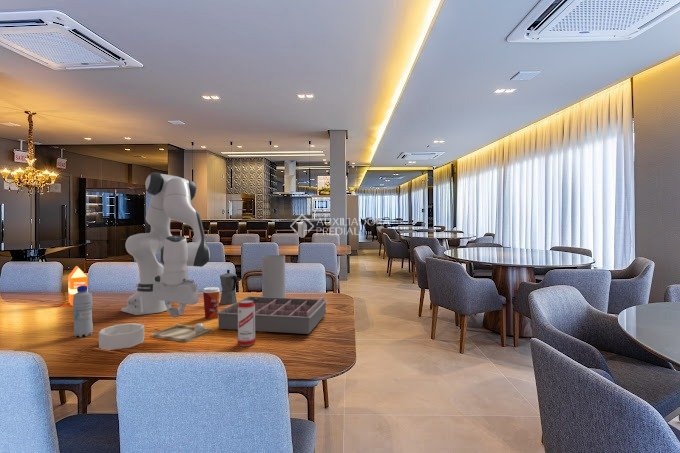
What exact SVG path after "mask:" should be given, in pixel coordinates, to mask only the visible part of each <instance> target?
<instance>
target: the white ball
mask: <svg viewBox="0 0 680 453" xmlns="http://www.w3.org/2000/svg"><path fill="white" fill-rule="evenodd" d="M194 326H195V327H194V331H195V332H196V333H198V334H199V333H202V332H204V330H205V328H206V327H205V325H204V323H201V322H199V323H196V324H195V325H194Z"/></svg>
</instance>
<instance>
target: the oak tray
mask: <svg viewBox="0 0 680 453" xmlns="http://www.w3.org/2000/svg"><path fill="white" fill-rule="evenodd" d="M194 327H195V325H193V326H192V325H187V324H179V323H178V324H176V325H172V326H169V327H167V328H163V329H161V330H158V331H154V332H151V333H150V337H151V338H157V339H158V338H159V339H163V340H168V341H169V340H170V341H176V342H180V343H181V342H183V343H189V342H191V341H193V340H195V339H198V338H200V337H202V336H205V335H207V334H210V333H213V328H209V327H208V328H207V327H205V330H204V332H202V333H199V334H198V333H196V332H195V331H194Z"/></svg>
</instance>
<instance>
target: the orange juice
mask: <svg viewBox="0 0 680 453" xmlns="http://www.w3.org/2000/svg"><path fill="white" fill-rule="evenodd" d="M67 277H68V278H67V279H68V283H67V284H68V286H67V288H68V303H70V304H69V305H70V306H71V305H72V306H73V303H72V302H73V296H74V294H76V293H78V292H77V287H79V286H82V285H84V286H87V291H88V292H89V289H88V288H89V287H88V276H87V275H86V273H84V271H83V270H82V269H81V268H80V267H79V266H78V265H76V266H75V267H74V268H73V270H71V272H70V273H69V275H68V276H67Z"/></svg>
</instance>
